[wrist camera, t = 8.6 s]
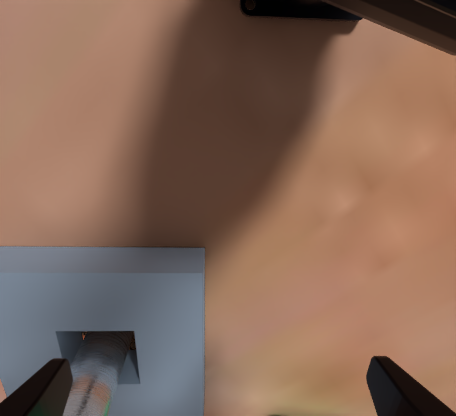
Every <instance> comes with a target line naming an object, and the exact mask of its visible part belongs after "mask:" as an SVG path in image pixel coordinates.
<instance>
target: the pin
mask: <svg viewBox="0 0 456 416" xmlns="http://www.w3.org/2000/svg"><path fill="white" fill-rule="evenodd" d="M133 334H134V331H88V332H87V334H86V336H85V338H84V340H83V342H82V344H81V346H80V348H79V350H78V352H77V354H76V356H75V357H74V359H73V361H72V363H71V365H70V367H71V372H72V376H73V383H72V388H71V391H70V394H69V397H68V400H67V404H66V407H65V410H64V413H63V416H108V413H109V410H110V407H111V404H112V401H113V397H114V394H115V391H116V388H117V385H118V382H119V378H120V375H121V372H122V369H123V366H124V363H125V360H126V356H127V353H128V350H129V347H130V344H131V341H132V337H133Z"/></svg>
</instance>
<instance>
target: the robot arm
mask: <svg viewBox="0 0 456 416" xmlns="http://www.w3.org/2000/svg"><path fill="white" fill-rule="evenodd" d="M246 1H247V0H240V10H241V12H242V14H244V15H245V16H247V17H259V18H283V19H306V20H329V21H352V22H354V21H359V20H361V19H363V18H364V19H367V20H369V21H371V22H374V23H376V24H379V25H381V26H383V27H386V28H388V29H391V30H393V31H396V32H398V33H400V34H403V35H405V36H408V37H410V38H412V39H415V40H417V41H420V42H422V43H424V44H427V45H429V46H432V47H434V48H436V49H439V50H441V51H444V52H446V53H448V54H451V55H456V0H253V2H254V5H255V7H254V9H252V10H249V9H247V8H246V5H245V3H246ZM366 379H367V384H368V387H369V390H370V393H371V397H372V400H373V403H374V406H375V409H376V412H377V415H378V416H456V413H455V412H453V411H452V410H451V409H450V408H449V407H447V406H446V405H445V404H444V403H443V402H441V401H440V400H439V399H438V398H437V397H435V396H434V395H433V394H432V393H431V392H429V391H428V390H427V389H426V388H425V387H423V386H422V385H421V384H420V383H419V382H417V381H416V380H415V379H414V378H413V377H411V376H410V375H409V374H408V373H407V372H405V371H404V370H403V369H402V368H401V367H399V366H398V365H397V364H396V363H395V362H393V361H392V360H391V359H390V358H388V357H386V356H373V357H372V359H371V362H370V365H369V368H368V371H367V375H366ZM72 383H73V376H72V372H71V367H70V363H69V360H68V359H67V358H53V359H51V360H50V361H48V362H47V363H46V364H45V365H44V366H43V367H42V368H40V369H39V370H38V371H37V372H36V373H35V374H33V375H32V376H31V377H30V378H29V379H28V380H26V381H25V382H24V383H23V384H22V385H21V386H20V387H18V388H17V389H16V390H15V391H14V392H13V393H11V394H10V395H9V396H8V397H7V398H6V399H4V400H3V401H2V402H1V403H0V416H63V413H64V410H65V407H66V404H67V400H68V397H69V394H70V391H71V388H72Z"/></svg>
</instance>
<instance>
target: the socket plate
mask: <svg viewBox="0 0 456 416" xmlns="http://www.w3.org/2000/svg"><path fill="white" fill-rule="evenodd" d="M81 331H134V334H135V343H136V350H128V353H127V356H126V360H125V363H124V366H123V369H122V372H121V375H120V378H119V382H118V385H117V388H116V391H115V394H114V397H113V401H112V404H111V407H110V410H109V413H108V416H204V392H205V248H167V247H20V246H0V379H1V382H2V384H3V387H4V390H5V393H6V395H7V397H8V396H9V395H10V394H11V393H13V392H14V391H15V390H16V389H17V388H18V387H20V386H21V385H22V384H23V383H24V382H25V381H26V380H28V379H29V378H30V377H31V376H32V375H33V374H35V373H36V372H37V371H38V370H39V369H40V368H42V367H43V366H44V365H45V364H46V363H47V362H48V361H50V360H51V359H53V358H67V359H68V360H69V363H70V365H71V363H72V361H73V359H74V357H75V356H76V354H77V352H78V350H79V348H80V346H81V344H82V342H83V337H82V332H81Z"/></svg>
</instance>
